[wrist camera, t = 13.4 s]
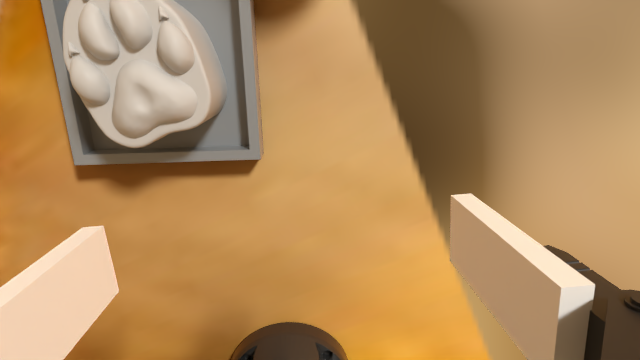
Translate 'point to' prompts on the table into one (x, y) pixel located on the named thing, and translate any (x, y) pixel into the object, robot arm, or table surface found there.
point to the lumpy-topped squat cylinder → (142, 67)
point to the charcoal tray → (189, 145)
